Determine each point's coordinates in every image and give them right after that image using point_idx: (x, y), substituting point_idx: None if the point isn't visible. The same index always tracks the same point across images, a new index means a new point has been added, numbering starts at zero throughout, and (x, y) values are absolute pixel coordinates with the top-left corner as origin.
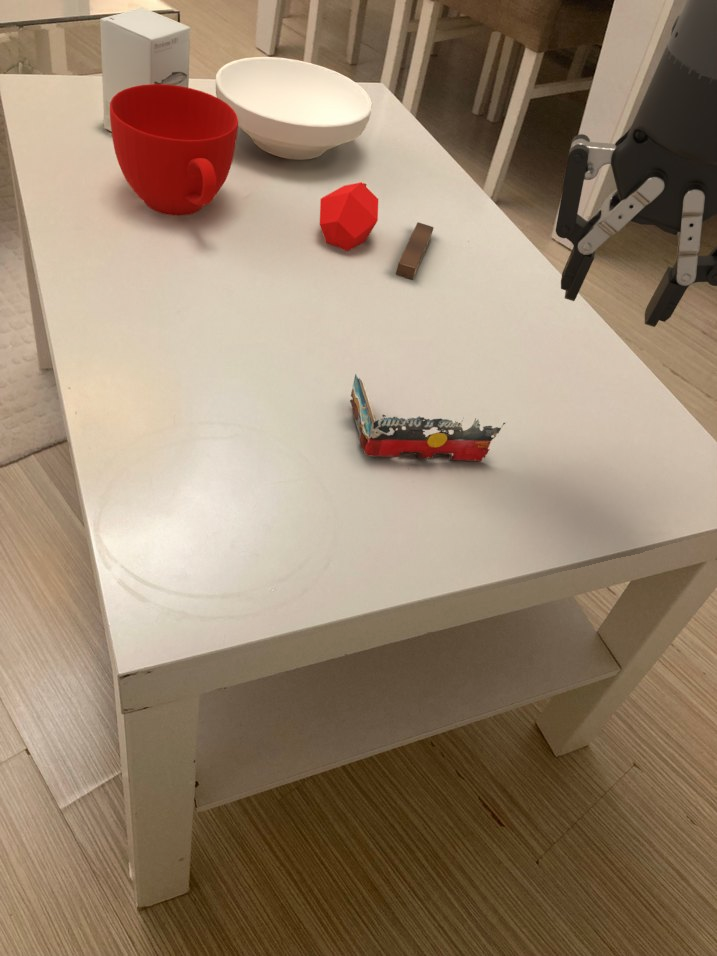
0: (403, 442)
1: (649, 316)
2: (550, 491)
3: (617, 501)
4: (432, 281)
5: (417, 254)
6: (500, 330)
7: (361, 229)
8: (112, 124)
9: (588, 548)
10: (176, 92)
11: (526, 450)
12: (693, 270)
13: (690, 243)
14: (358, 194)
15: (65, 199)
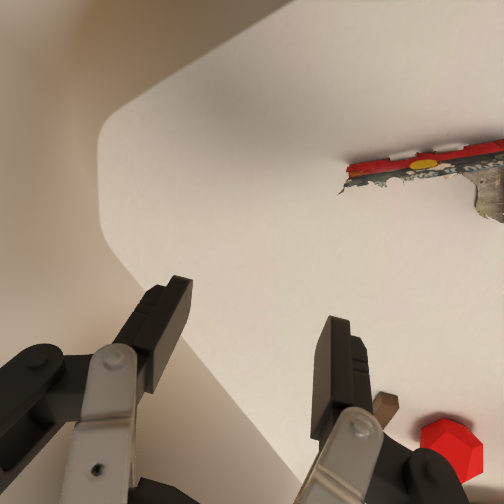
0: (469, 154)
1: (186, 290)
2: (270, 135)
3: (194, 136)
4: None
5: (376, 418)
6: (298, 343)
7: (441, 441)
8: None
9: (232, 49)
10: None
11: (291, 192)
12: (95, 377)
13: (97, 453)
14: None
15: None
